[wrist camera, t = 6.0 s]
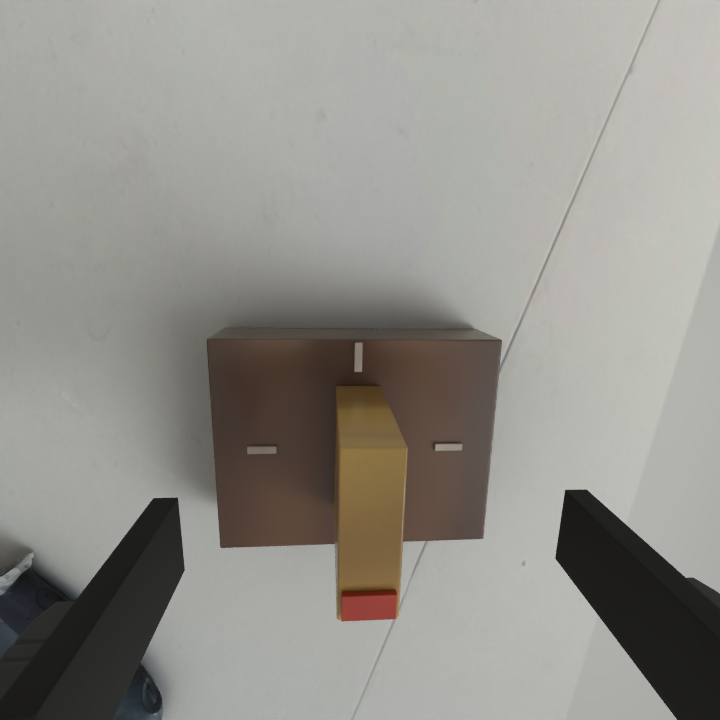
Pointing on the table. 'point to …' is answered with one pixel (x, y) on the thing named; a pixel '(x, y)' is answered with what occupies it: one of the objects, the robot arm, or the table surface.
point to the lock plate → (317, 427)
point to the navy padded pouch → (32, 597)
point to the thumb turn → (368, 504)
